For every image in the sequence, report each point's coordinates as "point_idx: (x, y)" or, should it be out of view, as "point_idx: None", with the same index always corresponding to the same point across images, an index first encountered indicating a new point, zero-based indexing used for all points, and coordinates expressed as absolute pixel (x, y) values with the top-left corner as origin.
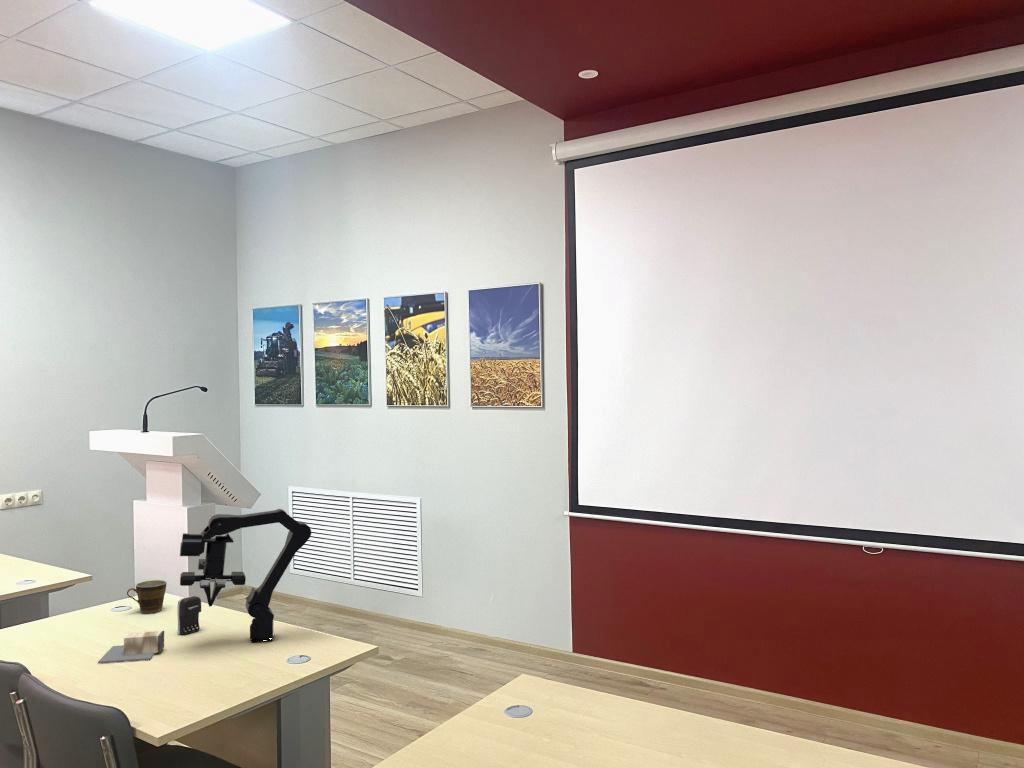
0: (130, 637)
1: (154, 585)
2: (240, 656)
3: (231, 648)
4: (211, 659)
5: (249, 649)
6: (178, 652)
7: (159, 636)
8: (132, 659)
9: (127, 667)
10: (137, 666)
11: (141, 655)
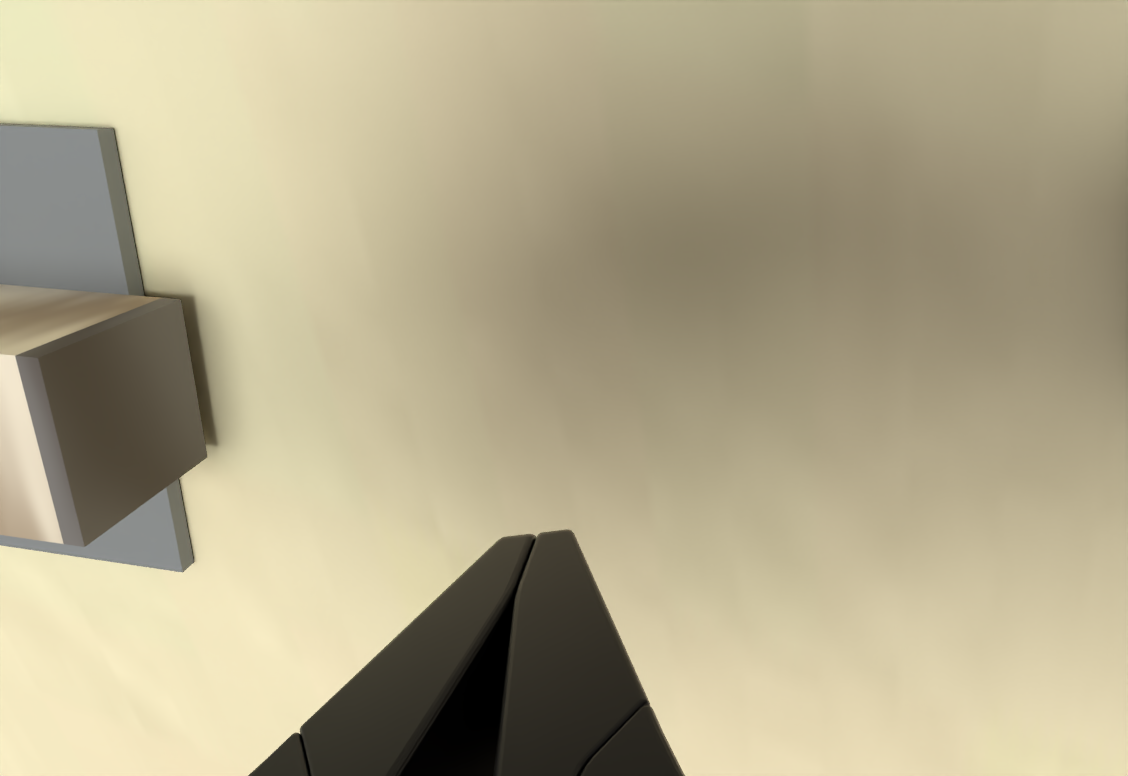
0: None
1: None
2: (980, 738)
3: (898, 484)
4: (705, 716)
5: (1103, 580)
6: (364, 437)
7: (84, 540)
8: (58, 553)
9: (99, 654)
10: (159, 660)
11: None
